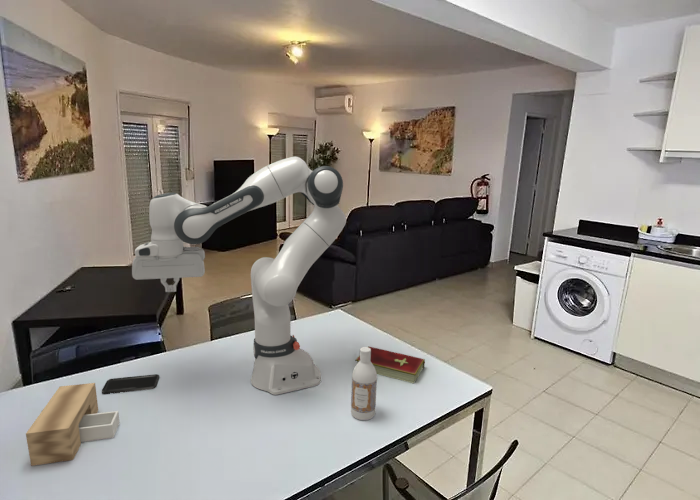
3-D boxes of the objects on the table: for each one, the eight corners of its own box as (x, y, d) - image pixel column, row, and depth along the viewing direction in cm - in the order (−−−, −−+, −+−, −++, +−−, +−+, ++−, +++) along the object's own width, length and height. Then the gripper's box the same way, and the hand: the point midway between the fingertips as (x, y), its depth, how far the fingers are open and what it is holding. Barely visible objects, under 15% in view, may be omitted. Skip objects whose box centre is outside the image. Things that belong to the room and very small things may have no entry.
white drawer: (119, 424, 113) (118, 410, 112) (113, 438, 107) (112, 424, 106) (59, 431, 109) (58, 417, 108) (50, 446, 103) (48, 432, 103)
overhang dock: (98, 410, 118) (95, 382, 116) (73, 459, 99) (68, 428, 97) (63, 414, 116) (59, 386, 114) (31, 465, 97) (25, 433, 95)
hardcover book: (368, 355, 155) (368, 345, 154) (424, 368, 147) (425, 357, 146) (355, 370, 144) (355, 358, 144) (414, 385, 136) (415, 373, 135)
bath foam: (347, 418, 118) (349, 352, 113) (354, 404, 124) (357, 341, 120) (371, 423, 116) (374, 356, 111) (377, 409, 122) (380, 345, 118)
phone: (107, 379, 132) (159, 373, 136) (108, 382, 132) (159, 377, 136) (100, 392, 125) (155, 386, 129) (100, 396, 125) (155, 390, 129)
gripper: (205, 244, 132) (207, 286, 135) (133, 246, 126) (137, 289, 130) (203, 248, 126) (206, 292, 129) (128, 251, 120) (132, 296, 124)
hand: (171, 291), depth 129 cm, fingers closed
